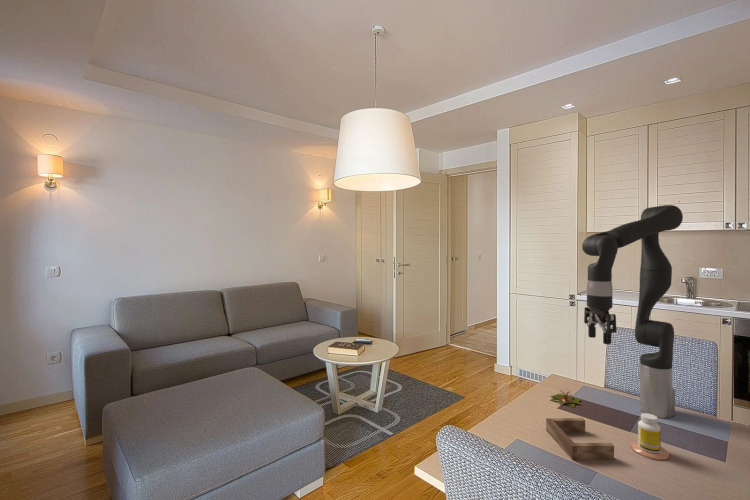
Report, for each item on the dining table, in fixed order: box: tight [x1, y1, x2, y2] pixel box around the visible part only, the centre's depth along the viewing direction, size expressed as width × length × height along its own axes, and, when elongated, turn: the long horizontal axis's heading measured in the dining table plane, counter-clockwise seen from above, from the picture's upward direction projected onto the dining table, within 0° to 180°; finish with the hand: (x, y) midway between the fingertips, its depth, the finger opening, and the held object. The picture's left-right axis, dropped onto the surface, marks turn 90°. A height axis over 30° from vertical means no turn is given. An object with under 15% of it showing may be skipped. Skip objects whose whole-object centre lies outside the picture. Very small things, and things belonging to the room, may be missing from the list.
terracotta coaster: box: [630, 440, 670, 461], centre depth 107 cm, size 9×9×1 cm
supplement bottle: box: [637, 412, 662, 453], centre depth 107 cm, size 5×5×10 cm
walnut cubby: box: [545, 417, 615, 461], centre depth 112 cm, size 12×16×4 cm
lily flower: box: [550, 388, 582, 408], centre depth 141 cm, size 12×12×5 cm
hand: (599, 340), depth 125 cm, fingers open, 8 cm apart
